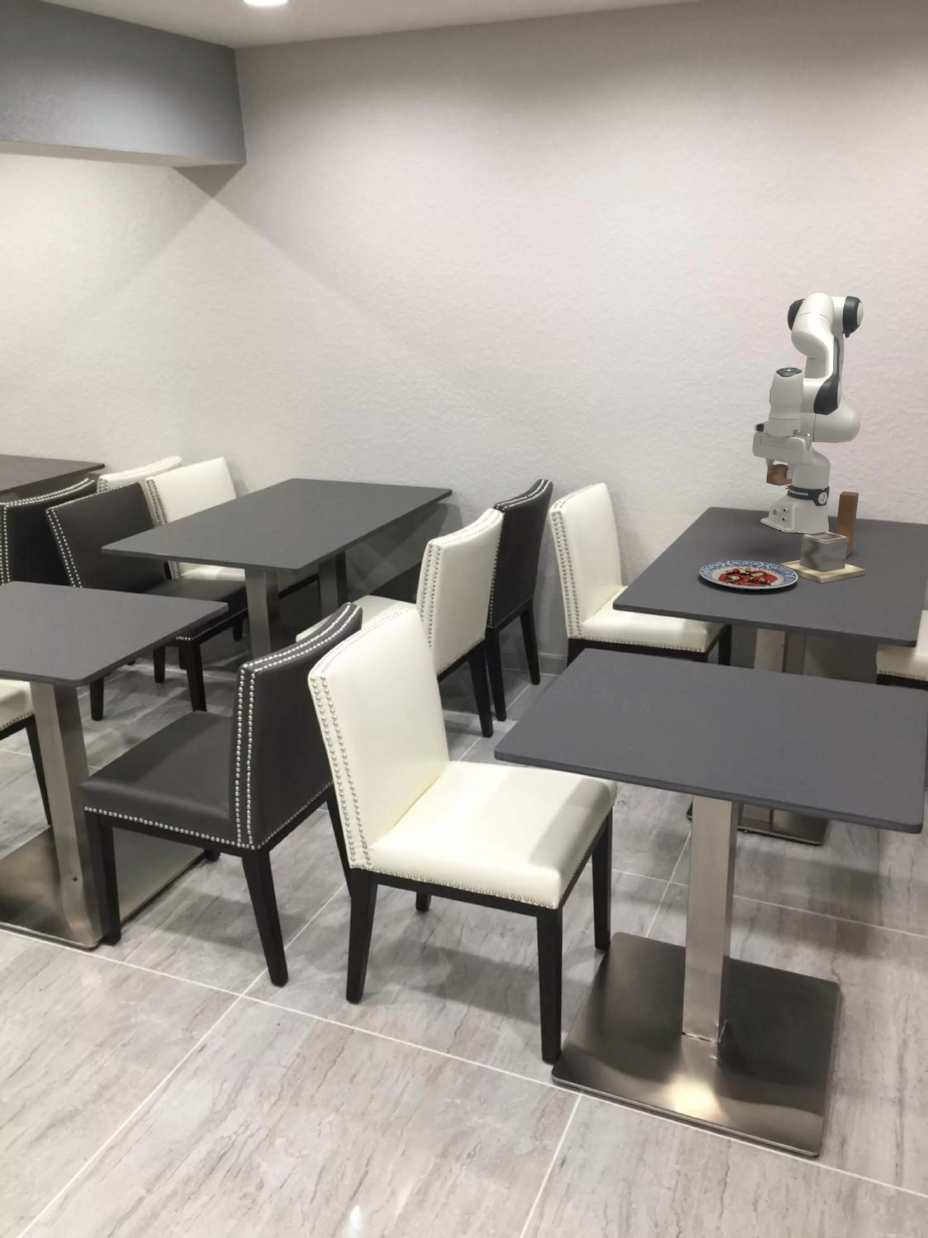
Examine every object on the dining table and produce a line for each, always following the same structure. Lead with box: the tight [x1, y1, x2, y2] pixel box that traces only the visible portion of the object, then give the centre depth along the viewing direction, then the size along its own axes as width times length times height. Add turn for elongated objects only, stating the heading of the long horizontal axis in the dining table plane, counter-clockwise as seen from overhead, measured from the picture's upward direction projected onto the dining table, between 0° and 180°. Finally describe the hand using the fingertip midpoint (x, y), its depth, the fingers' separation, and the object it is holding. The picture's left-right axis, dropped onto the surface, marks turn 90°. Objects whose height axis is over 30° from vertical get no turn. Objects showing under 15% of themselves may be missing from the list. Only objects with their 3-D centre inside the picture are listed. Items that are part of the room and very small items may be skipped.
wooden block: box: [834, 490, 860, 559], centre depth 294 cm, size 9×4×18 cm, turn 148°
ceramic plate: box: [699, 560, 799, 591], centre depth 274 cm, size 26×26×3 cm
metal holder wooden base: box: [778, 531, 866, 584], centre depth 279 cm, size 16×16×10 cm
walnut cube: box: [765, 463, 793, 487], centre depth 288 cm, size 5×5×5 cm
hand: (779, 476), depth 288 cm, fingers closed on walnut cube, 5 cm apart
